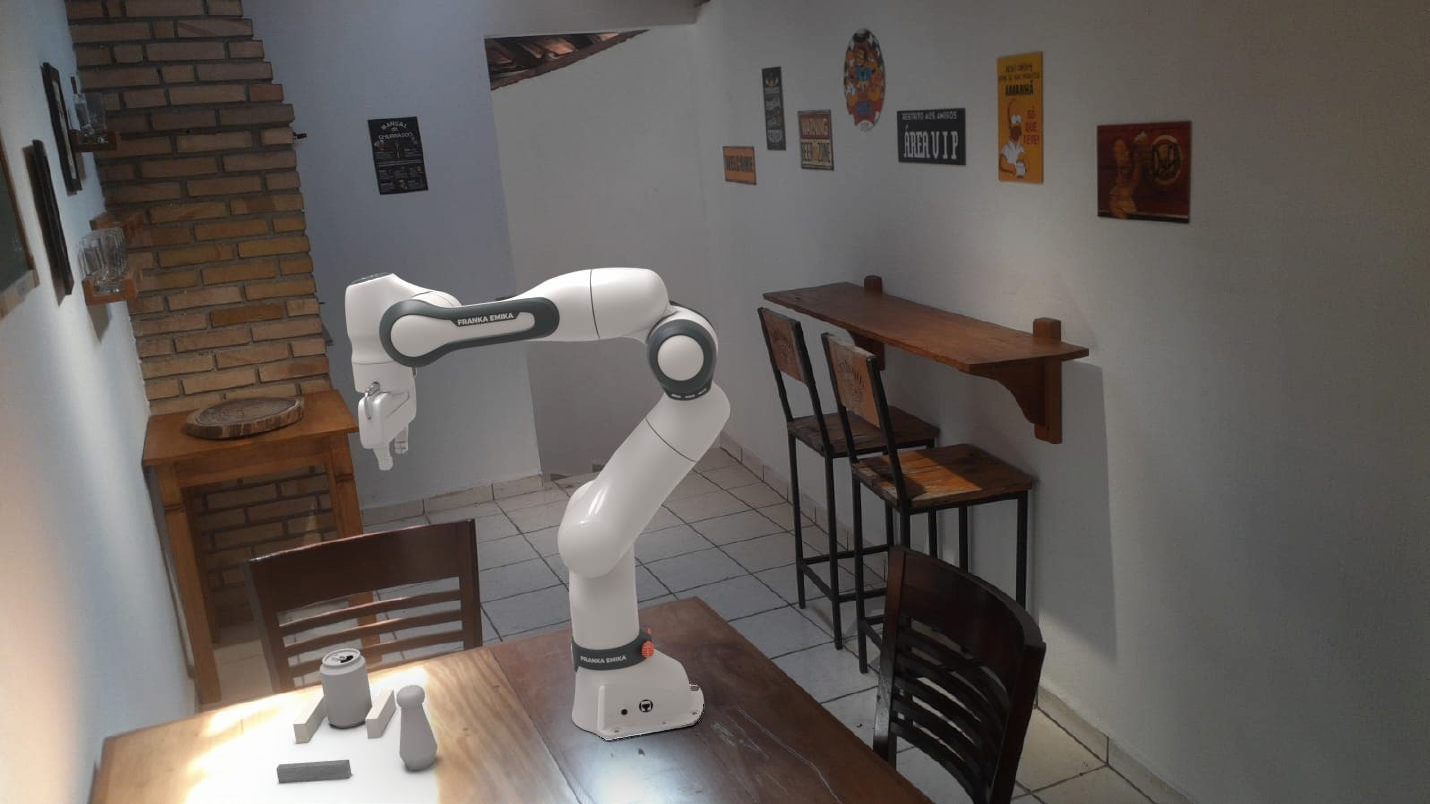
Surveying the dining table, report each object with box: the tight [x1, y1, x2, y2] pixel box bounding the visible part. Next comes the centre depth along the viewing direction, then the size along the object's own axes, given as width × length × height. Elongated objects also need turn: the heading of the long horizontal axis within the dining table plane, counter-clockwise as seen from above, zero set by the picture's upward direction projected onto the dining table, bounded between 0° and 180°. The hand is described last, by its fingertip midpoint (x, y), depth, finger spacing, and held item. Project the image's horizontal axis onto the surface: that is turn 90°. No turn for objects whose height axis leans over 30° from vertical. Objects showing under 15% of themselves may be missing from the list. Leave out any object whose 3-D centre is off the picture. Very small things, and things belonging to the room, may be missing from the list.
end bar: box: [276, 759, 352, 784], centre depth 169 cm, size 11×1×2 cm, turn 91°
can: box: [319, 647, 373, 729], centre depth 186 cm, size 8×8×12 cm
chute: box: [292, 688, 397, 744], centre depth 185 cm, size 14×10×4 cm
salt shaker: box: [395, 684, 438, 771], centre depth 170 cm, size 6×6×13 cm
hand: (394, 460), depth 174 cm, fingers open, 8 cm apart
